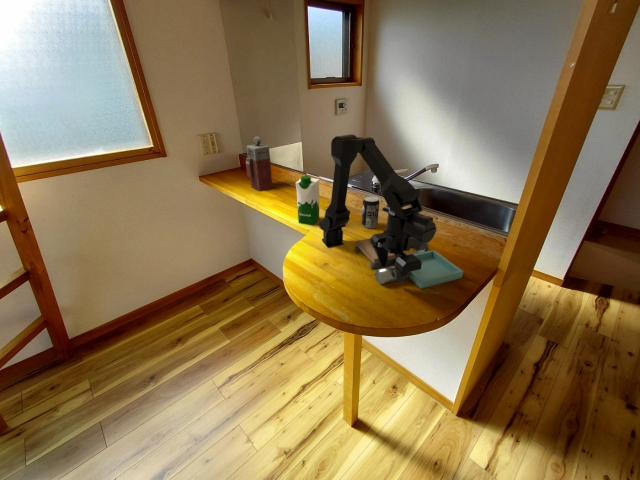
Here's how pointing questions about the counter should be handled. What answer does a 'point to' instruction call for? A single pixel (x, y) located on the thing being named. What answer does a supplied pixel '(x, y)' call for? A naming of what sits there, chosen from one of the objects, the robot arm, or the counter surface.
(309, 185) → the milk carton
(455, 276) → the tray
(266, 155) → the maroon lidded pitcher
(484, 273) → the counter surface
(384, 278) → the roller
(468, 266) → the counter surface
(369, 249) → the board
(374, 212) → the beverage can
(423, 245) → the track
